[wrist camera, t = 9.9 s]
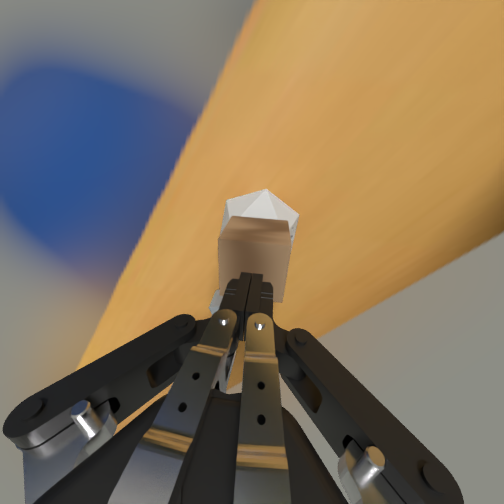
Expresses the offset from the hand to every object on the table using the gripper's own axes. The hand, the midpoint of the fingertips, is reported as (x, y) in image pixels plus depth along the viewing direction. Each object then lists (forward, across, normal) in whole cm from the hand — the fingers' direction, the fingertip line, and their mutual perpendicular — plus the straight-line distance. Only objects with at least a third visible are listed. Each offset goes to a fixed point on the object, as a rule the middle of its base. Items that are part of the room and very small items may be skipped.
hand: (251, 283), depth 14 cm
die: (+14, 0, 0) cm, 14 cm away
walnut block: (+6, 0, 0) cm, 6 cm away
